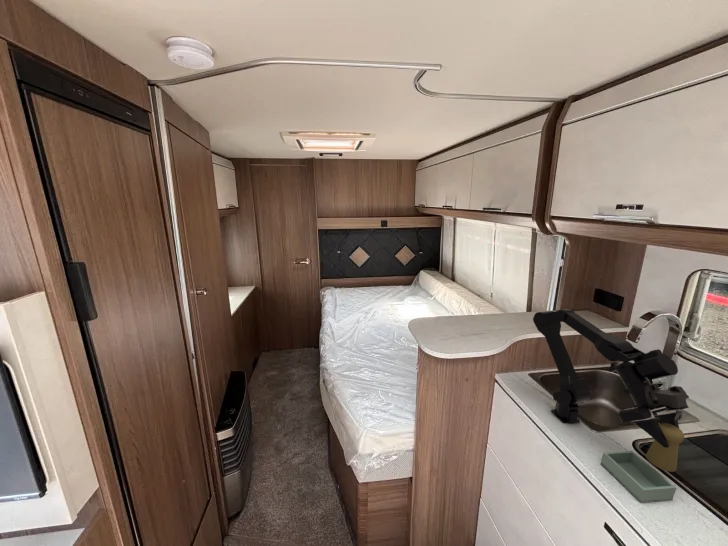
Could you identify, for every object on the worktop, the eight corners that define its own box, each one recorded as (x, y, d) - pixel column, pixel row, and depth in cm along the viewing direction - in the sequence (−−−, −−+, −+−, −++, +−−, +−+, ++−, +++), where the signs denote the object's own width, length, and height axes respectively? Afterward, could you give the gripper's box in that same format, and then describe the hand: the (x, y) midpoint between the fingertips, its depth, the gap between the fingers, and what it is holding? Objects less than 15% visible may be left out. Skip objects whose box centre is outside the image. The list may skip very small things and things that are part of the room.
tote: (600, 463, 90) (603, 452, 89) (628, 462, 91) (632, 450, 90) (640, 502, 79) (643, 490, 78) (672, 500, 80) (676, 487, 79)
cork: (640, 454, 86) (650, 420, 83) (657, 451, 87) (667, 417, 84) (664, 473, 80) (676, 437, 77) (682, 469, 81) (694, 434, 78)
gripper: (642, 381, 79) (684, 451, 71) (689, 372, 84) (733, 435, 77) (603, 390, 88) (637, 453, 80) (648, 381, 93) (684, 439, 86)
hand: (673, 445), depth 81 cm, fingers closed on cork, 5 cm apart
